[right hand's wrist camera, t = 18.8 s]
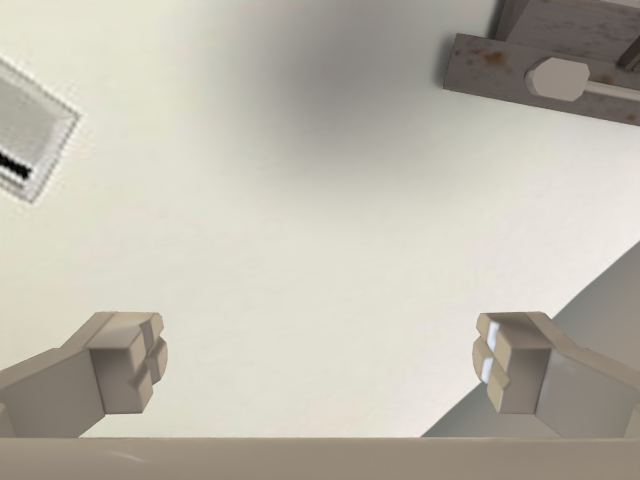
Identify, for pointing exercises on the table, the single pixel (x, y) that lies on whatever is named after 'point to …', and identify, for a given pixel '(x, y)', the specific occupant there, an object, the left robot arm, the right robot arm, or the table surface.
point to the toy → (557, 58)
